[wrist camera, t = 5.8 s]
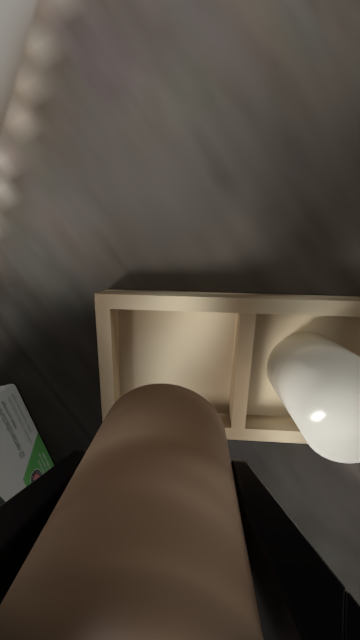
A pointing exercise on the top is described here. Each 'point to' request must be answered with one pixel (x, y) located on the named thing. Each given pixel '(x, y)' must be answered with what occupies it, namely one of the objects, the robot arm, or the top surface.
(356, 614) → the robot arm
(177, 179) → the top surface
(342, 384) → the cream egg
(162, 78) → the top surface
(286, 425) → the egg tray
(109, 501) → the brown egg
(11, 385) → the ink box
